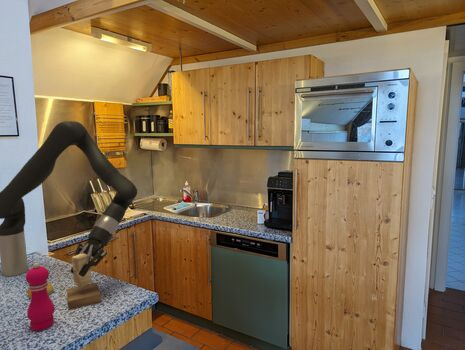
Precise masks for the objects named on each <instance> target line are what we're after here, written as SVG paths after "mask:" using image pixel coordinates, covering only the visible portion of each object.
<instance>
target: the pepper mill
mask: <svg viewBox="0 0 465 350" xmlns="http://www.w3.org/2000/svg"><path fill="white" fill-rule="evenodd" d="M49 277H50V272H49V270H48V268H47V267H44V266H43V265H42V266H41V264H40V263H39V262H34V263H33V265H32V268H30V269H28V270H27V271H26V274H25V281H26V282H27V284H28V288H29V290H30V291H31V298H30V303H29V305H28V308H27V313H26V314H27V315H26V316H27V319H29V321H30V322H29V326H30V329H31V330H32V331H38V332H39V331H43V330H45V329H48V328H50V327H51V326H52V325H53V324H54V323H55V319H54V317H55V316H54V315H53V314H54V313H55V311H56V310H55V305H54V302H53V300H52V299H51V298H50V295H48V294H47V286H48V282H49V281H48V278H49Z"/></svg>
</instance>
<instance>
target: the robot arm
mask: <svg viewBox="0 0 465 350" xmlns="http://www.w3.org/2000/svg"><path fill="white" fill-rule="evenodd" d="M71 146H76V147H77V148H78V149H79V150H80V151H82V153H83V154H84V155H85V156H86V158H87V160H88V163H89V164H90V167H91V169H92V171H93V172H94V174H95V175H96V176H97V177H98V178H99V180H101V181H102V183H104V184H105V185H106V186H107V187H111V188H112V189H113V190H114V191H115V192H116V193H115V194H114V197H113V198H112V200H111V201H110V203H109V204H108V206H107V207H106V209H105V210H104V212H103V213H102V214H101V216H100V217H99V219H98V220H97V221H96V222H95V224H94V226H93V227H92V229H91V230H90V231H89V234H88V235H87V238H88V240H87V241H86V242H85V243H83V244H82V243H81V242H79V243H78V244H77V248H76V249H75V251H74V254H73V256H76V255H79V254H87V256H88V259H87V260H86V262H85V264H84V265H83V267H82V269H81V270H80V272H79V275H80V276H82V277H84V276H85V275H86V273H87V272H88V270H89V268H92V267H97V266H98V264H99V263H100V262H101V261H102V260H103V259H104V258H105V257H106V256H107V254H108V252H107V251H106V250H104V247H107V246H108V245H109V244H110V241H111V240H112V238H113V237H114V235H115V233H116V232H117V230H118V227H119V225H120V224H121V222H122V220H123V218H124V217H125V214H126V211H127V210H128V209H129V207H130V206H131V204H132V203H133V202H134V200H135V198H136V197H137V194H138V189H137V187H136V185H135V184H134V182H133V181H131V180H130V179H128V178H127V177H126V176H125V175H123V174H122V173H121V172H120V171H119V170H118V169H117V168H116V166H114V165H113V163H112V162H111V161H110V160H109V159H108V158H107V157H106V156H105V154H104V153H103V151H101V149H100V148H99V146H98V145H97V144H96V142H95V141H94V139H93V137H92V135H91V134H90V132H88V130H87V128H86V127H85V126H84V125H83V124H82V123H81V122H78V121H75V120H72V121H71V120H70V121H69V120H68V121H61V122H59V123H57V124H56V125H55V126H54V127H53V128H52V130H51V132H50V133H49V135H48V136H47V137H46V139H45V141H44V142H43V143H42V145H41V146H40V147H39V148H38V149H37V151H35V153H34V154H32V156H31V157H30V158H29V159H28V160H27V161H26V162H25V164H24V165H22V167H21V169H20V170H19V172H17V174H16V175H15V176H14V177H13V178H12V180H10V182H9V183H8V184H7V185H6V186H5V187H4V188H3V189H2V190H1V191H0V220H3V221H2V223H1V224H0V268H1V274H2V276H3V277H15V276H18V275H22V274H24V273H27V272H28V271H29V266H28V265H29V264H28V253H27V247H26V237H25V236H26V235H25V225H26V207H25V202H24V199H23V198H24V197H25V196H27V195H28V194H30V193H32V191H34V190H36V189H37V188H39V186H41V185H42V184H43V183H44V182H45V181H46V180H47V179H48V178H49V177H50V176H51V174H52V172H53V171H54V169H55V166H56V164H57V163H56V162H57V159H58V158H59V157H60V155H62V153H63V152H65V150H66V149H68V148H69V147H71ZM69 271H70V273H72V274H73V266H72V267H71V268H70V270H69Z"/></svg>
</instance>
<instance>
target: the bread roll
mask: <svg viewBox="0 0 465 350" xmlns="http://www.w3.org/2000/svg"><path fill="white" fill-rule="evenodd" d="M54 290H55V287H54V285H52V283H50V282H49V281H48V286H47V294H48V296H50V295H51V294H52V293H53V292H54ZM26 294H27V295H28V298H29V299H31V291H30V290H29V287H28V288H27V290H26Z"/></svg>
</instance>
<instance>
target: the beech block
mask: <svg viewBox="0 0 465 350" xmlns="http://www.w3.org/2000/svg"><path fill="white" fill-rule="evenodd" d="M87 259H88V256H87V254H84V253H83V254H78V255H76V256H74V255H73V256H71V264H72V267H73V273H72V274H73V285H75V286H76V287H78V286H79V287H83V286H85V285H87V284H92V283H93V282H92V271H91V270H92V267H90V268H89V270H88V272H87V273H86V275H85V276H84V277H82V276H80V275H79V272H80V270H81V269H82V267H83V265H84V264H85V262H86V260H87Z"/></svg>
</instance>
